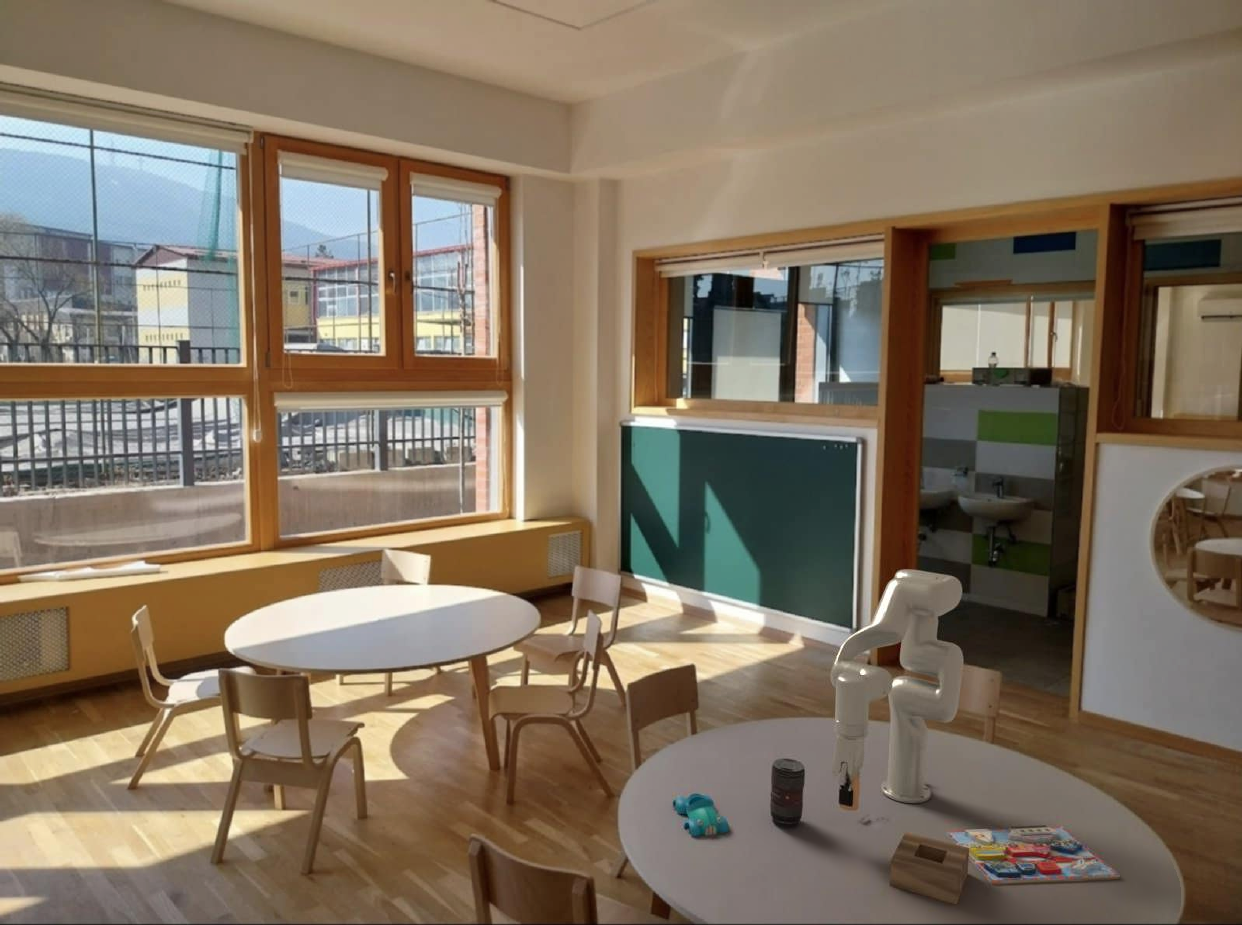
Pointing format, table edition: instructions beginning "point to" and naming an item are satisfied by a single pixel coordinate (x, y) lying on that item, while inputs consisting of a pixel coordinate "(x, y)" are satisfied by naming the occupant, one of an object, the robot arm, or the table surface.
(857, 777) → the peg
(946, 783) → the table surface
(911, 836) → the socket block
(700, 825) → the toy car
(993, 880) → the puzzle board
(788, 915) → the table surface
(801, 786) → the camera lens
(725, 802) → the table surface
